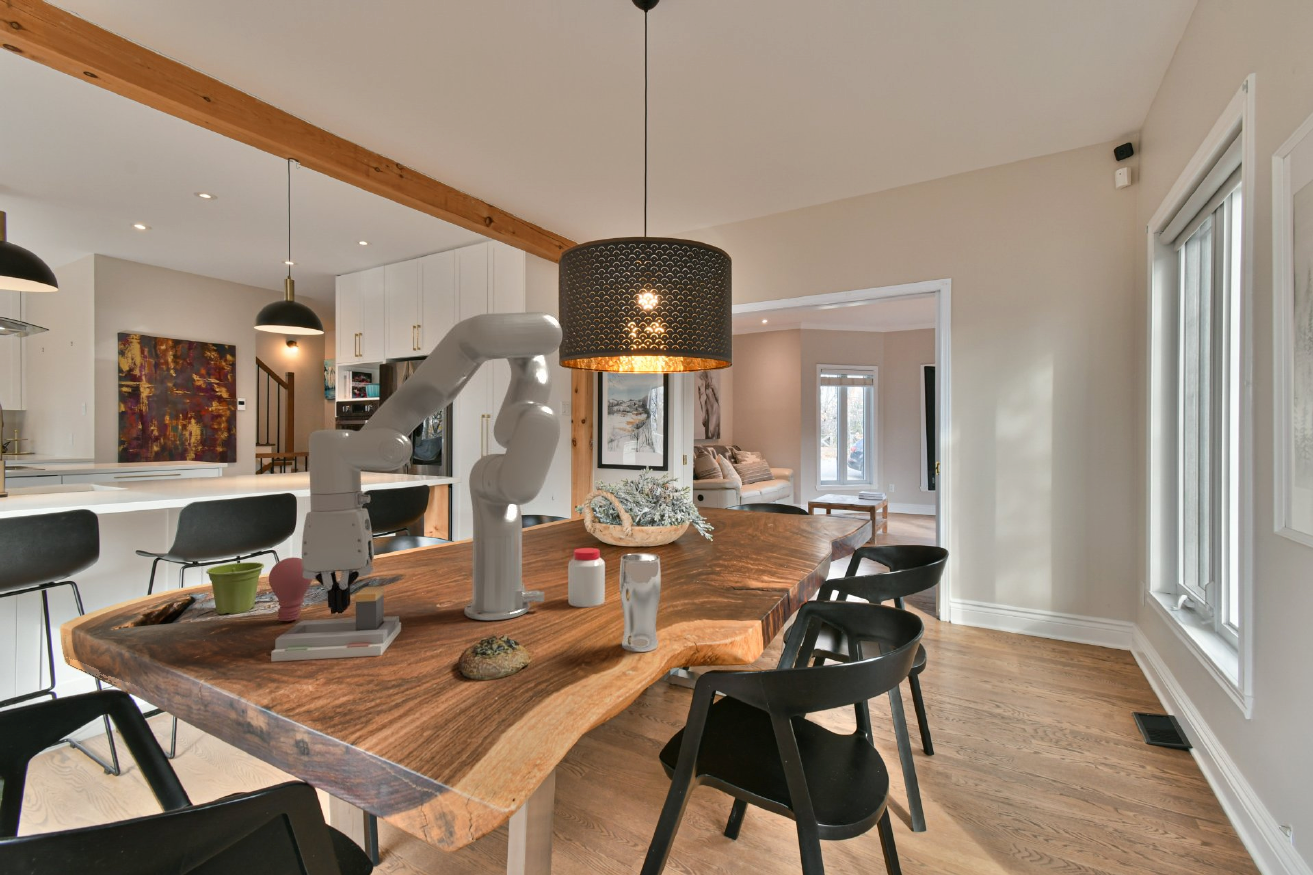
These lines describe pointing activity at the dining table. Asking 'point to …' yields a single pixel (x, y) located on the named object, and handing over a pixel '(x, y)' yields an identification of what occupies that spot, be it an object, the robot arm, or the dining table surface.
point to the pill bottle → (586, 578)
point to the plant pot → (235, 586)
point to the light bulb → (289, 587)
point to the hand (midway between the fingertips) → (339, 610)
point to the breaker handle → (369, 608)
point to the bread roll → (493, 658)
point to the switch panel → (334, 651)
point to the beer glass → (640, 600)
